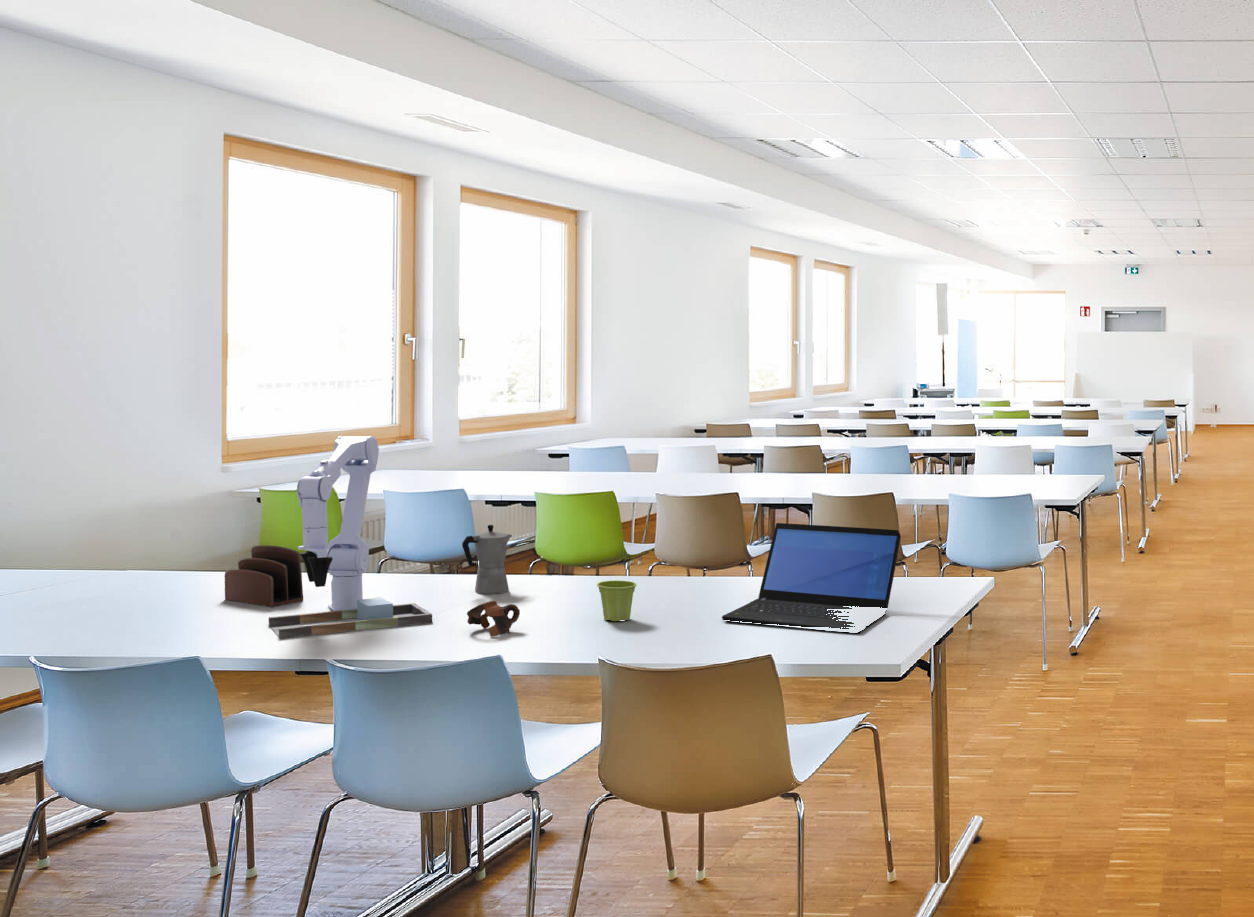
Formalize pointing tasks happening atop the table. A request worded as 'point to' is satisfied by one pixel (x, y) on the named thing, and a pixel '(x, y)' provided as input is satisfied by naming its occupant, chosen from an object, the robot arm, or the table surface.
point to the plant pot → (616, 599)
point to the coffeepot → (489, 560)
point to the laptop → (822, 575)
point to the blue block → (374, 609)
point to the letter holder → (266, 577)
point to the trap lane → (293, 627)
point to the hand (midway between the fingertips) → (317, 583)
